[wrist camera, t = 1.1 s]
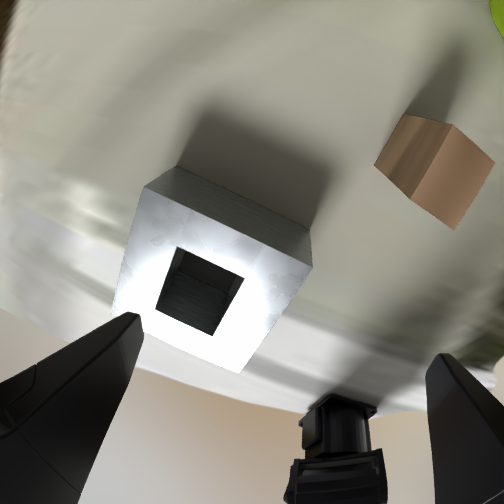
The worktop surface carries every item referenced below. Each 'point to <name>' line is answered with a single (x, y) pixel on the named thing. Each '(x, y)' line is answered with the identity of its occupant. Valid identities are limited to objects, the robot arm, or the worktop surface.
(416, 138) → the tan rectangular block
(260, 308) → the grey square socket block
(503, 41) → the worktop surface
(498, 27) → the soap dispenser
